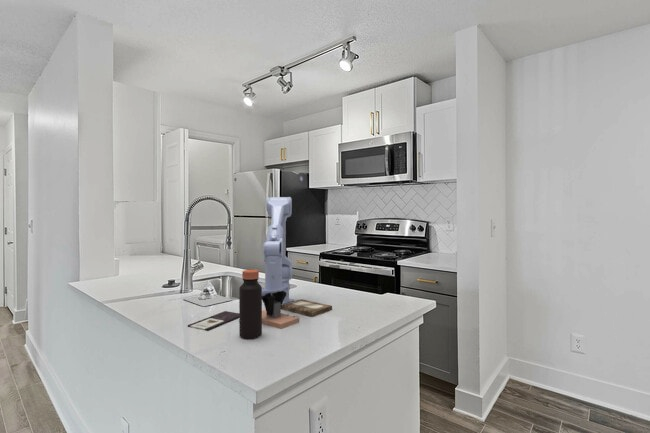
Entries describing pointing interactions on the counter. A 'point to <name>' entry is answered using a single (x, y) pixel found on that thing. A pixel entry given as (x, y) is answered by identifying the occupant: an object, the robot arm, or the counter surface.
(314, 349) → the counter surface
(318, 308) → the board
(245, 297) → the bottle
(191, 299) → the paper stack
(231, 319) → the chocolate bar
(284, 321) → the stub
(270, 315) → the robot arm
